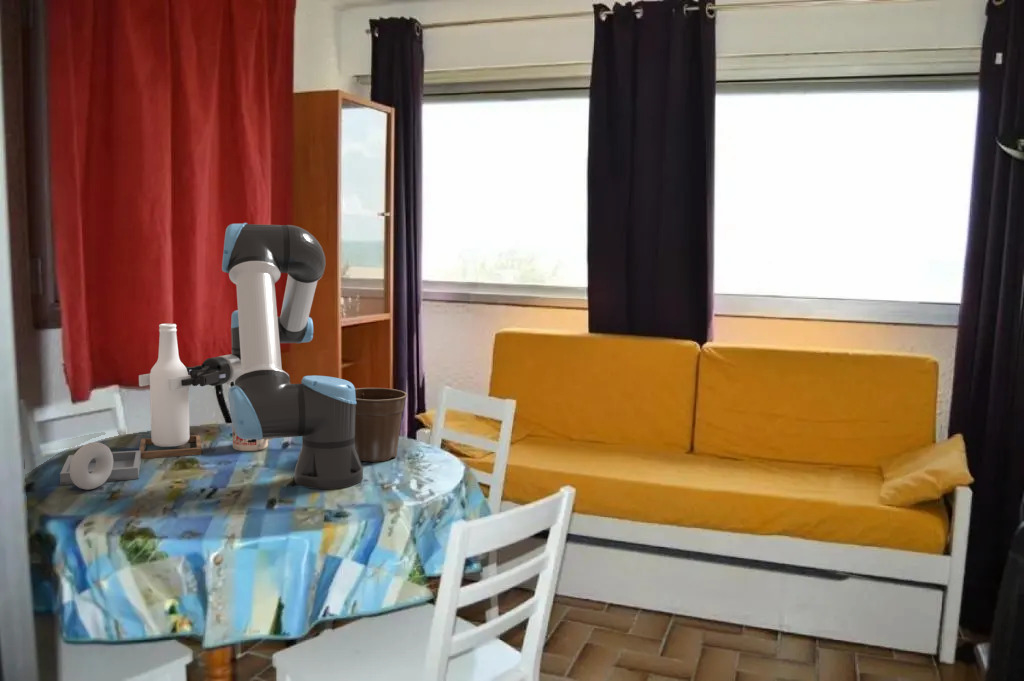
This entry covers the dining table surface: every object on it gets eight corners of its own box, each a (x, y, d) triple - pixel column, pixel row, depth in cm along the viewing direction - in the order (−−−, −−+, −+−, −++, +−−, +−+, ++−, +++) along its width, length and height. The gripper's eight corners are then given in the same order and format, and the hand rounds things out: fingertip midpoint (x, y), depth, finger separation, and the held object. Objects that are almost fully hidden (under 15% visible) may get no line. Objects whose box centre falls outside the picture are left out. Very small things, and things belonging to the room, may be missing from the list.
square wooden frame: (201, 454, 192) (201, 448, 192) (139, 458, 186) (138, 452, 186) (200, 440, 205) (200, 434, 205) (141, 444, 199) (141, 438, 199)
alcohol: (144, 445, 192) (140, 325, 188) (164, 437, 200) (161, 321, 197) (177, 448, 190) (174, 326, 187) (196, 439, 199) (194, 323, 195)
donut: (79, 496, 159) (77, 449, 158) (66, 494, 160) (64, 447, 159) (118, 483, 168) (116, 438, 167) (105, 481, 169) (104, 436, 168)
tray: (138, 478, 172) (137, 467, 171) (60, 485, 166) (59, 473, 165) (141, 460, 185) (140, 450, 185) (69, 465, 179) (68, 455, 179)
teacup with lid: (224, 450, 196) (224, 405, 195) (243, 441, 205) (243, 398, 204) (268, 454, 194) (268, 408, 193) (285, 445, 203) (285, 401, 202)
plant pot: (393, 445, 207) (394, 385, 205) (415, 460, 193) (416, 397, 191) (333, 450, 199) (333, 389, 197) (351, 467, 185) (351, 401, 183)
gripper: (253, 387, 207) (189, 402, 186) (190, 380, 214) (122, 393, 194) (252, 359, 206) (188, 371, 185) (190, 353, 214) (121, 363, 193)
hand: (154, 382), depth 189 cm, fingers closed on alcohol, 9 cm apart
